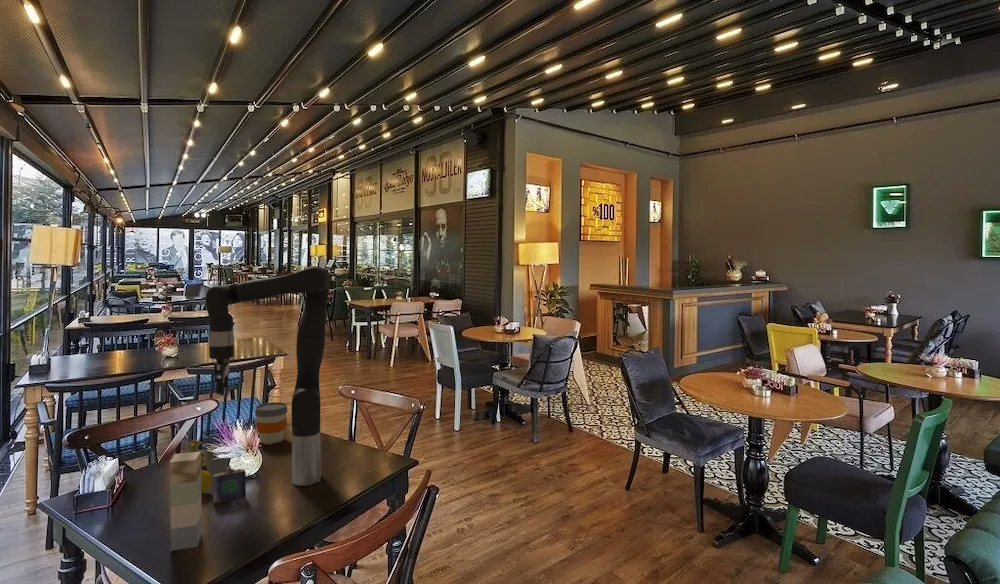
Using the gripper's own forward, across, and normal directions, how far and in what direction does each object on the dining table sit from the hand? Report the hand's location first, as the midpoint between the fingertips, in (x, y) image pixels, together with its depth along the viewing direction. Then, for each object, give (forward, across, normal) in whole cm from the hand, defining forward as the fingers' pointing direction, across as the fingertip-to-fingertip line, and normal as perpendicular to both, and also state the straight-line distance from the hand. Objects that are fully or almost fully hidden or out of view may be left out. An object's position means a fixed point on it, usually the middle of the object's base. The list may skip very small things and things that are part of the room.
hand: (222, 390), depth 171 cm
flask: (+32, -15, -4) cm, 36 cm away
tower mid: (+26, -39, +3) cm, 47 cm away
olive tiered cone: (+32, +17, +12) cm, 39 cm away
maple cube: (+14, -39, +3) cm, 42 cm away
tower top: (+20, -39, +3) cm, 44 cm away
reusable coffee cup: (+32, +38, -13) cm, 51 cm away
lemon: (+32, -8, +5) cm, 34 cm away
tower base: (+32, -39, +3) cm, 51 cm away
